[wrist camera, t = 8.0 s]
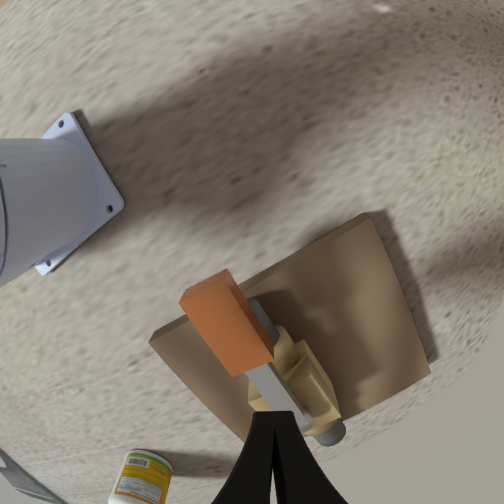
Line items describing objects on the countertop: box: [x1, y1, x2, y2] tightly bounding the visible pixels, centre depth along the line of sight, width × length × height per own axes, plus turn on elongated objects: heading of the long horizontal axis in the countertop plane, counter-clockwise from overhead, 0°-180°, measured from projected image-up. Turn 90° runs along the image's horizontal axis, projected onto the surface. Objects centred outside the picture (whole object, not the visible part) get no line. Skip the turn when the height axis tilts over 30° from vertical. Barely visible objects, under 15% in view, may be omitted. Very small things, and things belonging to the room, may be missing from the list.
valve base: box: [148, 213, 431, 446], centre depth 18 cm, size 16×14×5 cm
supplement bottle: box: [108, 450, 172, 504], centre depth 21 cm, size 5×5×10 cm
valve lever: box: [179, 268, 313, 434], centre depth 14 cm, size 10×2×1 cm, turn 29°
